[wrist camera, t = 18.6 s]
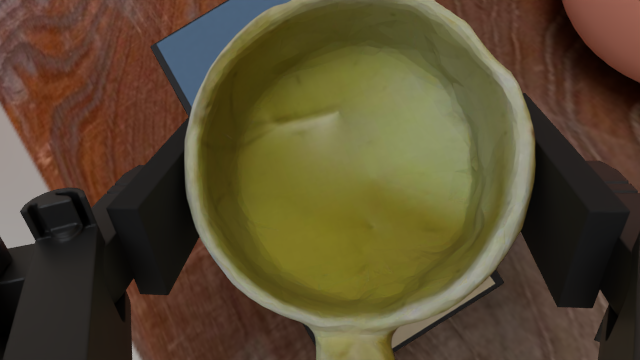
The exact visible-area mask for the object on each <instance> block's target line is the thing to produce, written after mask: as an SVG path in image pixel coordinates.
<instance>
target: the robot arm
mask: <svg viewBox="0 0 640 360" xmlns="http://www.w3.org/2000/svg"><path fill="white" fill-rule="evenodd" d="M522 94H523V97H524V100H525V102H526V105H527V108H528V110H529V113H530V117H531V121H532V125H533V129H534V133H535V162H536V166H535V179H534V185H533V190H532V194H531V198H530V202H529V206H528V209H527V213H526V217H525V220H524V224H523V227H522V229H521V233H522V235H523V237H524V239H525V241H526V243H527V245H528V247H529V249H530V252H531V254H532V256H533V258H534V260H535V262H536V264H537V266H538V268H539V270H540V272H541V274H542V276H543V278H544V281H545V283H546V285H547V287H548V289H549V291H550V293H551V295H552V297H553V299H554V301H555V303H556V305H557V307H572V308H593V305H594V303H595V300H596V298H597V295H598V293H599V290H601V291H602V293H603V295H604V296H605V298H606V299H607V301H608V303H609V305H608V308H607V310H606V313H605V315H604V317H603V320H602V322H601V324H600V327H599V329H598V332H597V334H596V336H595V339H594V340H595V341H598V342H600V348H599V356H598V360H640V193H638V191H637V190H636V189H635V188H634V187H633V186H632V185H631V184H628V181H627V180H626V179H625V177H624V176H623V175H622V174H621V173H620V172H619V171H618V170H616V169H614V168H612V167H610V166H609V165H607V164H605V163H603V162H601V161H585V160H584V158H583V157H582V156H581V155H580V154H579V153H578V152H577V151H576V149H575V148H574V147H573V146H572V145H571V144H570V143H569V142H568V141H567V139H566V138H565V137H564V136H563V135H562V134H561V133H560V132H559V130H558V129H557V128H556V127H555V126H554V125H553V124H552V123H551V121H550V120H549V119H548V118H547V117H546V116H545V115H544V114H543V112H542V111H541V110H540V109H539V108H538V107H537V106H536V105H535V104H534V102H533V101H532V100H531V99H530V98H529V97H528V96H527V95H526V93H522ZM189 118H190V116H189V117H188V118H187V119H186V121H185V122H184V123H183V124H182V125H181V126H180V127H179V128H178V129H177V131H176V132H175V133H174V134H173V135H172V136H171V137H170V138H169V139H168V140H167V142H166V143H165V144H164V145H163V146H162V147H161V148H160V149H159V150H158V151H157V153H156V154H155V155H154V156H153V157H152V158H151V159H150V160H149V161H148V162H147V164H146V165H138V166H137V167H135V168H133V169H132V170H130V171H128V172H127V173H125V174H124V175H123V176H122V177H121V178H120V179H119V180H118V181H117V182H116V183H115V186H112V187H111V188H110V189H109V190H108V191H107V194H105V195H104V196H103V197H102V198H101V199H100V200H99V201H98V202H97V203H96V204H95V205H94V206H93V207H92V208H91V207H90V205H89V202H88V200H87V198H86V195H85V193H84V191H83V190H80V189H78V188H63V189H56V190H53V191H50V192H47V193H44V194H42V195H40V196H38V197H36V198H34V199H32V200H31V201H29V202H28V203H27V204H25V205H24V207H23V208H22V210H21V211H20V212H21V214H22V216H23V218H24V220H25V221H26V223H27V225H28V227H29V229H30V231H31V233H32V235H33V237H34V238H35V240H36V241H35V244H30V245H25V246H20V247H14V248H9V249H7V248H6V246H5V244H4V242H3V241H2V239H1V237H0V360H132V338H131V304H130V299H129V297H128V294H127V292H126V289H127V287H128V286H129V284H130V283H131V281H132V280H133V278H134V279H135V282H136V284H137V287H138V289H139V292H140V294H152V295H168V294H169V293H170V291H171V289H172V287H173V285H174V283H175V281H176V279H177V278H178V276H179V274H180V272H181V270H182V268H183V266H184V264H185V263H186V261H187V259H188V257H189V255H190V253H191V251H192V249H193V248H194V246H195V244H196V242H197V240H198V238H199V234H198V232H197V230H196V227H195V224H194V221H193V218H192V214H191V210H190V207H189V203H188V200H187V195H186V187H185V163H184V154H185V136H186V132H187V127H188V123H189Z"/></svg>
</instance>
